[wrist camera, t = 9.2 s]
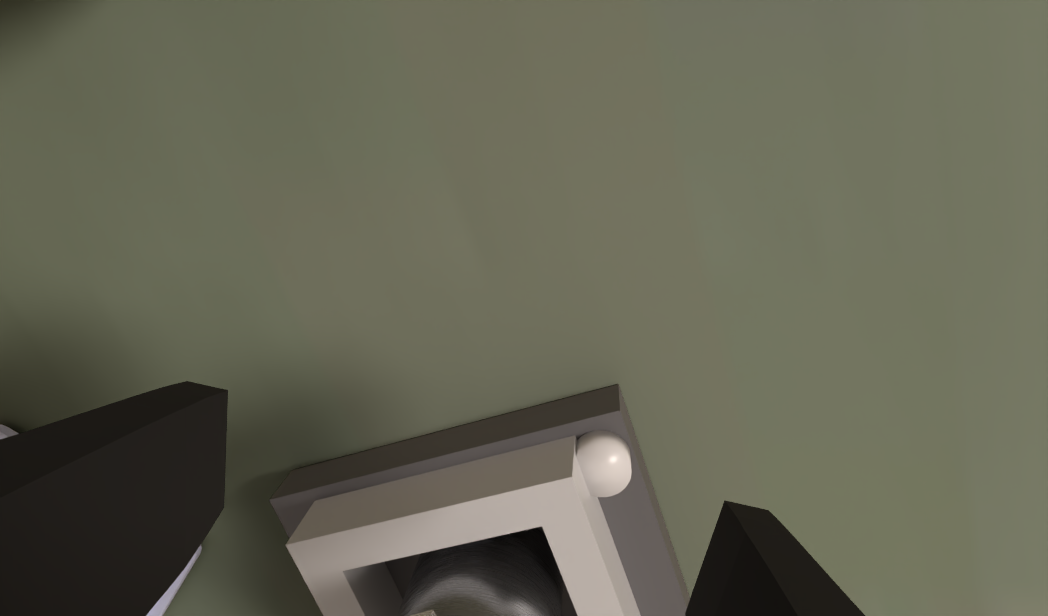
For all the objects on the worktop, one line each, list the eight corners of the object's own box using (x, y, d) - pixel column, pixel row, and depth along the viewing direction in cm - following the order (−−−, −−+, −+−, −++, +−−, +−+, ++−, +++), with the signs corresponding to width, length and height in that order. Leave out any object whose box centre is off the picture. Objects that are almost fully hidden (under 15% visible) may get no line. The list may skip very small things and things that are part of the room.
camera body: (397, 676, 24) (364, 774, 21) (291, 470, 22) (235, 543, 18) (697, 621, 22) (715, 720, 19) (618, 384, 20) (622, 449, 16)
